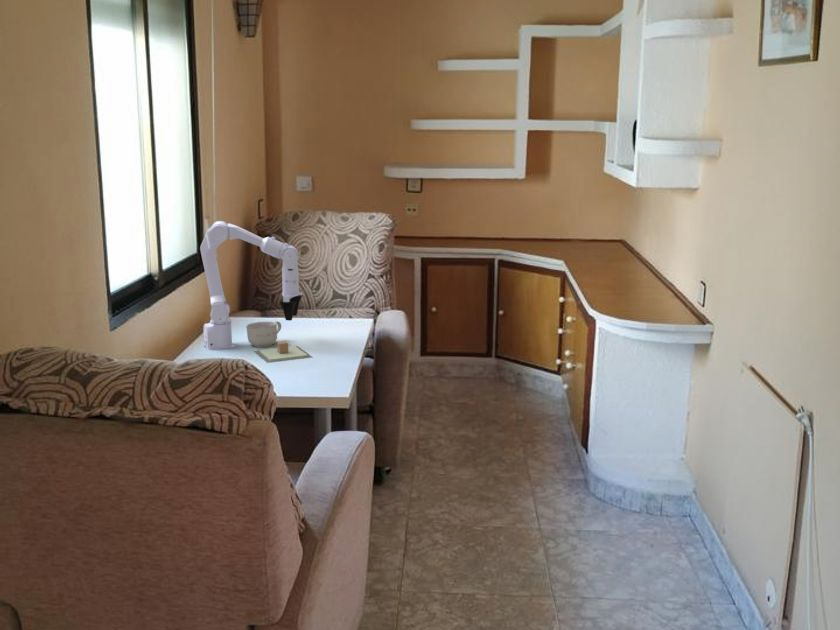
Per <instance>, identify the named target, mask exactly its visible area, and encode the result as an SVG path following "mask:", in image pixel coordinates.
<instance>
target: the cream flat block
mask: <svg viewBox="0 0 840 630" xmlns="http://www.w3.org/2000/svg"><path fill="white" fill-rule="evenodd" d="M296 346H297V345H291V346H290V345H289V342H287V341H286V340H283V341H276V347H274V348H265V349H259V350H258V351H259V352H260V353H261V354H262V355H263V356H265V357H266V358H267V359H268V360H269V361H276V360H284V359H292V358H300V357H307V354H305V353H304V352H303V351H301V350H300V349H298V348H297V347H296Z"/></svg>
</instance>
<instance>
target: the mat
mask: <svg viewBox="0 0 840 630" xmlns="http://www.w3.org/2000/svg"><path fill="white" fill-rule="evenodd" d="M295 346H296V347H297V348H298V349H300V350H301V351H303V352H304V353H305V354H307V357H300V358H292V359H284V360H276V361H269V360H268V359H267V358H266V357H265V356H263V355H262V354H261V353H260V352H259V350H253V352H254V354H256V355H257V356H258V357H260V359H262V360H263V361H265V363H267V364H269V363H277V362H285V361H286V362H287V361H295V360H301V359H311V358H313V356H312V355H311V354H309V353H308V352H306V350H304V349H302V348H301V347H300V346H298V345H295Z"/></svg>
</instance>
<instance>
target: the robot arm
mask: <svg viewBox="0 0 840 630" xmlns="http://www.w3.org/2000/svg"><path fill="white" fill-rule="evenodd" d="M228 238H229V240H237V239H238V240H239V239H240V240H241V241H244V242H247V243H249V244H252V245H255V246H257V247H259V248H260V251H261V252H262V253H264V254H267V255H269V256H271V257H273V258H275V259H278V260H279V259H281V260H282V268H281V274H282V275H281V278H282V279H281V280H282V281H281V282H282V285H281V286H282V293H281V296H282V299H283V300H282V299H280V300H279V305H280V306H281V308H282V311H283V314H284V319H285V321H289V322H290V321H292V320H293V317H294V316H295V317H296V316H297V315H298V311H299V305H300V302H301V299H302V297H303V292H301V291H300V285H299V283H300V282H299V280H300V279H299V275H300V274H299V262H298V261H299V258H300V256H299V251H298V250H297V248H296V247H295V246H293V245H292V244H289V243H287V242H285V243H284V242H281V241H279V240H277V239H276V237H275V236H271V237H270V236H267V237H261V236H259V235H257V234H255V233H253V232H250V231H249V230H247V229H244V228H242V227H240V226H238V225H235V224H233V223H227V222H226V221H223V220H217V221H215V222H214V223H213V224H211V226H210V227H209V228H208V229H207V231H206V233H205V236H204V238H203V239H202V242H201V244H200V247H199V250H200V254H201V259H202V263H203V269H204V274H205V279H206V282H207V283H206V284H207V288H208V292H209V298H210V299H209V300H210V306H211V307H210V308H211V309H210V312H209V316H210V321H209V322H208V323H204V324H203V346H204V347H205V348H206V349H207V350H208V351H213V350H221V349H232V348H236V345H234V343H233V338H232V337H233V335H232V332H233V331H232V319H230V317H229V316H230V312H231V307H230V305H229V304H228V303H227V300H226V296H225V294H224V289H223V285H222V279H221V276H220V270H219V265H218V260H217V256H216V255H217V254H216V250H217V248H218V247H219V246H220V244H222V243H223V242H225V241H226V240H228Z"/></svg>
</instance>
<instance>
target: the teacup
mask: <svg viewBox="0 0 840 630" xmlns="http://www.w3.org/2000/svg"><path fill="white" fill-rule="evenodd" d="M245 327H246V334H247V335H246V336H247V340H248V343H249V344H250V345H252V346H253V347H255V348H264V347H265V348H266V347H271V346H273V345H274V343H275V342H277V339H278V334H279V332H280V331H281V329H282V323H281V322H280V321H278V320H276V321H275V320H274V321H267V320H265V321H254V322H251V323H248V324H246V325H245Z"/></svg>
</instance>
